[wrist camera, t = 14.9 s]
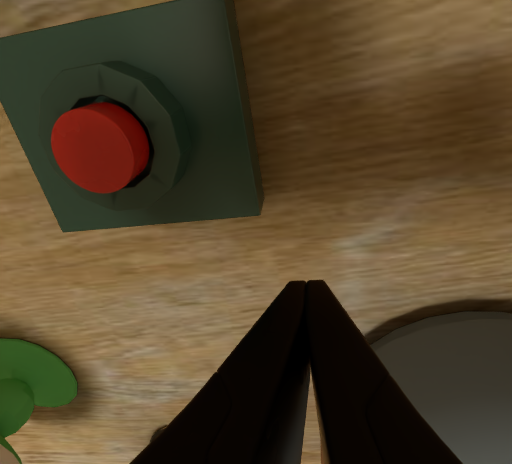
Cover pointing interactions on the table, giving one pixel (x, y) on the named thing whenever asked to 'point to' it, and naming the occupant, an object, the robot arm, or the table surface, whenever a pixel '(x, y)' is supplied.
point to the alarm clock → (457, 380)
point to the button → (100, 146)
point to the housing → (142, 111)
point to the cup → (29, 387)
